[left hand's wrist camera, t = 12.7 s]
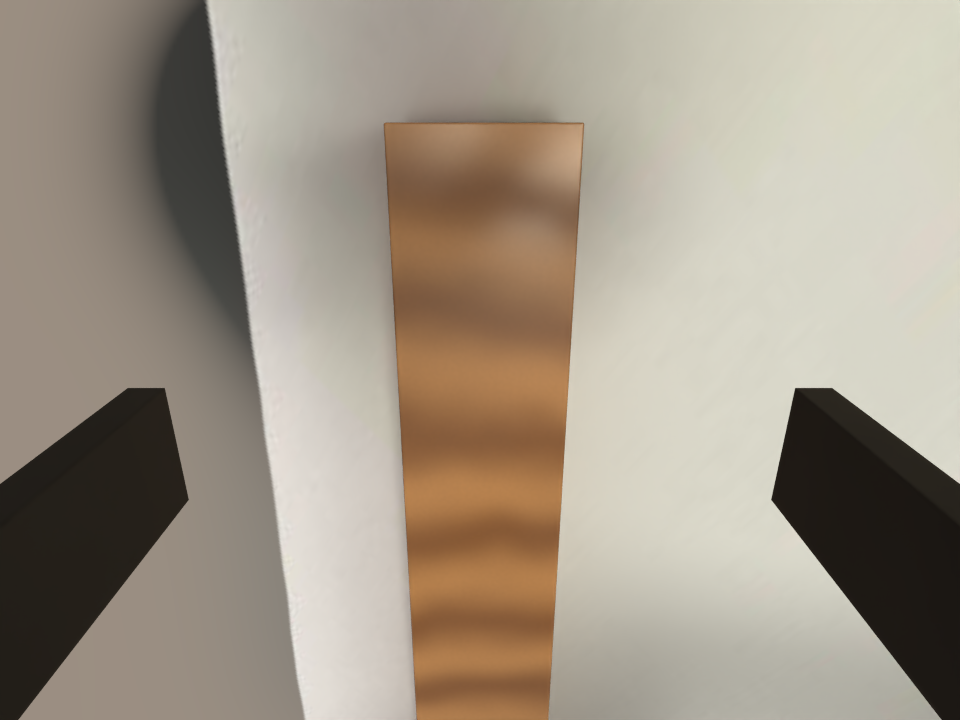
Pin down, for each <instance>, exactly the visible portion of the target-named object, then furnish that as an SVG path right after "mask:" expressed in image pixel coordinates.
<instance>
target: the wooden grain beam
mask: <svg viewBox="0 0 960 720" xmlns="http://www.w3.org/2000/svg"><path fill="white" fill-rule="evenodd" d="M583 135H584V123H384V137H385V155H386V173H387V191H388V209H389V227H390V245H391V263H392V281H393V299H394V317H395V335H396V353H397V371H398V390H399V408H400V426H401V444H402V462H403V480H404V498H405V516H406V534H407V552H408V570H409V588H410V606H411V624H412V642H413V660H414V678H415V697H416V715H417V720H548V713H549V697H550V680H551V664H552V647H553V631H554V614H555V598H556V581H557V565H558V548H559V531H560V515H561V498H562V482H563V465H564V449H565V432H566V416H567V399H568V383H569V366H570V350H571V333H572V316H573V300H574V283H575V267H576V250H577V234H578V217H579V201H580V184H581V168H582V151H583Z"/></svg>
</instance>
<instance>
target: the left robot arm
mask: <svg viewBox="0 0 960 720" xmlns="http://www.w3.org/2000/svg"><path fill="white" fill-rule="evenodd" d="M188 500H189V499H188V494H187V490H186V485H185V480H184V476H183V471H182V467H181V462H180V457H179V453H178V448H177V443H176V439H175V434H174V429H173V425H172V420H171V415H170V411H169V406H168V401H167V397H166V392H165V388H127V389H126V390H125V391H123V392H122V393H121V394H119V395H118V396H117V397H115V398H114V399H113V400H111V401H110V402H109V403H108V404H106V405H105V406H103V407H102V408H101V409H100V410H98V411H97V412H96V413H94V414H93V415H92V416H90V417H89V418H88V419H86V420H85V421H84V422H82V423H81V424H80V425H78V426H77V427H76V428H74V429H73V430H72V431H70V432H69V433H68V434H66V435H65V436H64V437H62V438H61V439H60V440H58V441H57V442H56V443H54V444H53V445H52V446H50V447H49V448H48V449H46V450H45V451H44V452H42V453H41V454H40V455H38V456H37V457H36V458H34V459H33V460H32V461H30V462H29V463H28V464H26V465H25V466H24V467H22V468H21V469H20V470H18V471H17V472H16V473H14V474H13V475H12V476H10V477H9V478H8V479H6V480H5V481H4V482H2V483H1V484H0V720H18V719H19V718H20V717H21V715H22V714H23V713H24V712H25V710H26V709H27V708H28V707H29V705H30V704H31V703H32V701H33V700H34V699H35V697H36V696H37V695H38V694H39V692H40V691H41V690H42V688H43V687H44V686H45V685H46V683H47V682H48V681H49V679H50V678H51V677H52V676H53V674H54V673H55V672H56V670H57V669H58V668H59V666H60V665H61V664H62V663H63V661H64V660H65V659H66V657H67V656H68V655H69V654H70V652H71V651H72V650H73V648H74V647H75V646H76V644H77V643H78V642H79V641H80V639H81V638H82V637H83V636H84V634H85V633H86V632H87V630H88V629H89V628H90V626H91V625H92V624H93V623H94V621H95V620H96V619H97V617H98V616H99V615H100V614H101V612H102V611H103V610H104V608H105V607H106V606H107V605H108V603H109V602H110V601H111V599H112V598H113V597H114V595H115V594H116V593H117V592H118V590H119V589H120V588H121V586H122V585H123V584H124V582H125V581H126V580H127V579H128V577H129V576H130V575H131V574H132V572H133V571H134V570H135V568H136V567H137V566H138V565H139V563H140V562H141V561H142V559H143V558H144V557H145V555H146V554H147V553H148V552H149V550H150V549H151V548H152V546H153V545H154V544H155V542H156V541H157V540H158V539H159V537H160V536H161V535H162V533H163V532H164V531H165V530H166V528H167V527H168V526H169V524H170V523H171V522H172V521H173V519H174V518H175V517H176V515H177V514H178V513H179V512H180V510H181V509H182V508H183V506H184V505H185V504H186V503H187V501H188ZM771 500H772V501H773V503H774V504H775V505H776V506H777V508H778V509H779V510H780V512H781V513H782V514H783V515H784V517H785V518H786V519H787V521H788V522H789V523H790V525H791V526H792V527H793V528H794V530H795V531H796V532H797V534H798V535H799V536H800V537H801V539H802V540H803V541H804V543H805V544H806V545H807V546H808V548H809V549H810V550H811V552H812V553H813V554H814V555H815V557H816V558H817V559H818V561H819V562H820V563H821V565H822V566H823V567H824V568H825V570H826V571H827V572H828V574H829V575H830V576H831V577H832V579H833V580H834V581H835V583H836V584H837V585H838V586H839V588H840V589H841V590H842V592H843V593H844V594H845V596H846V597H847V598H848V599H849V601H850V602H851V603H852V605H853V606H854V607H855V608H856V610H857V611H858V612H859V614H860V615H861V616H862V617H863V619H864V620H865V621H866V623H867V624H868V625H869V626H870V628H871V629H872V630H873V632H874V633H875V634H876V636H877V637H878V638H879V639H880V641H881V642H882V643H883V645H884V646H885V647H886V648H887V650H888V651H889V652H890V654H891V655H892V656H893V657H894V659H895V660H896V661H897V663H898V664H899V665H900V666H901V668H902V669H903V670H904V672H905V673H906V674H907V676H908V677H909V678H910V679H911V681H912V682H913V683H914V685H915V686H916V687H917V688H918V690H919V691H920V692H921V694H922V695H923V696H924V697H925V699H926V700H927V701H928V703H929V704H930V705H931V707H932V708H933V709H934V710H935V712H936V713H937V714H938V716H939V717H940V718H941V719H942V720H960V484H959V483H958V482H956V481H955V480H954V479H952V478H951V477H950V476H948V475H947V474H946V473H944V472H943V471H942V470H940V469H939V468H938V467H936V466H935V465H934V464H932V463H931V462H930V461H928V460H927V459H926V458H924V457H923V456H922V455H920V454H919V453H918V452H916V451H915V450H914V449H912V448H911V447H910V446H908V445H907V444H906V443H904V442H903V441H902V440H900V439H899V438H898V437H896V436H895V435H894V434H892V433H891V432H890V431H888V430H887V429H886V428H884V427H883V426H882V425H880V424H879V423H878V422H876V421H875V420H874V419H872V418H871V417H870V416H868V415H867V414H866V413H864V412H863V411H862V410H860V409H859V408H858V407H857V406H855V405H854V404H853V403H851V402H850V401H849V400H847V399H846V398H845V397H843V396H842V395H841V394H839V393H838V392H837V391H835V390H834V389H833V388H795V392H794V397H793V401H792V406H791V411H790V415H789V420H788V425H787V429H786V434H785V439H784V443H783V448H782V453H781V457H780V462H779V466H778V471H777V476H776V480H775V485H774V490H773V494H772V499H771Z"/></svg>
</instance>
